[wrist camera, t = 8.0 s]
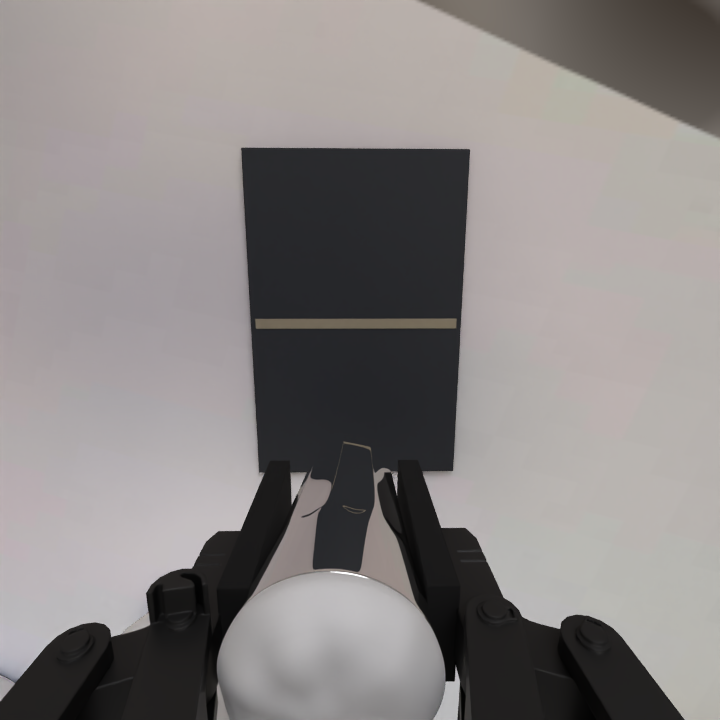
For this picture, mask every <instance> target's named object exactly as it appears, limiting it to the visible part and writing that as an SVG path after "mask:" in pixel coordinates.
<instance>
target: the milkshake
mask: <svg viewBox="0 0 720 720" xmlns="http://www.w3.org/2000/svg"><path fill="white" fill-rule="evenodd" d="M217 677H218V682H219V685H220V689H221V692H222V696H223V700H224V704H225V707H226V711H227V713H228V716H229V719H230V720H433V718H434V717H435V715H436V713H437V711H438V709H439V707H440V705H441V702H442V699H443V695H444V690H445V665H444V660H443V656H442V652H441V649H440V646H439V643H438V640H437V637H436V633H435V630H434V626H433V623H432V620H431V616H430V613H429V609H428V606H427V603H426V599H425V596H424V593H423V589H422V586H421V583H420V579H419V576H418V573H417V569H416V566H415V563H414V559H413V556H412V553H411V549H410V546H409V542H408V538H407V534H406V530H405V526H404V522H403V518H402V514H401V510H400V506H399V502H398V498H397V494H396V490H395V486H394V482H393V478H392V474H391V470H390V466H389V464H388V463H387V462H386V461H385V460H384V459H383V458H382V457H381V456H380V455H379V453H378V452H377V451H376V450H375V449H374V448H373V447H372V446H371V445H366V444H361V443H356V442H350V441H345V440H344V441H341V442H339V443H337V444H334V445H332V446H330V447H327V448H325V449H323V450H320V451H319V453H318V455H317V457H316V458H315V460H314V462H313V464H312V465H311V467H310V469H309V470H308V472H307V474H306V476H305V478H304V480H303V482H302V485H301V487H300V489H299V491H298V493H297V496H296V498H295V500H294V502H293V504H292V506H291V509H290V511H289V513H288V515H287V517H286V519H285V521H284V524H283V526H282V528H281V530H280V532H279V534H278V537H277V539H276V541H275V542H274V544H273V546H272V547H271V549H270V551H269V552H268V554H267V556H266V558H265V560H264V562H263V564H262V566H261V567H260V569H259V571H258V573H257V575H256V577H255V579H254V581H253V583H252V585H251V587H250V588H249V590H248V592H247V594H246V596H245V598H244V600H243V602H242V604H241V606H240V608H239V610H238V611H237V613H236V615H235V617H234V619H233V621H232V623H231V625H230V627H229V629H228V630H227V632H226V635H225V637H224V639H223V642H222V644H221V647H220V650H219V654H218V659H217Z"/></svg>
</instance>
